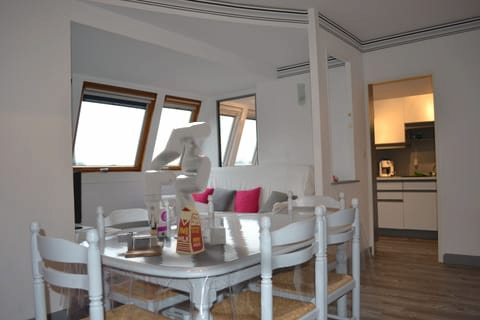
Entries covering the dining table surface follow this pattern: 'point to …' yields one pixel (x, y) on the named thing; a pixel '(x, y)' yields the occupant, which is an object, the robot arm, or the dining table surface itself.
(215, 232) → the skincare box
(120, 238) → the clamp bar
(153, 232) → the lug slider
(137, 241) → the finned block
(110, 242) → the dining table surface
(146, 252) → the walnut board
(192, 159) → the robot arm
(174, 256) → the dining table surface
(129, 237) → the hinge post
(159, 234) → the white product box
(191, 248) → the milk carton
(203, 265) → the dining table surface
